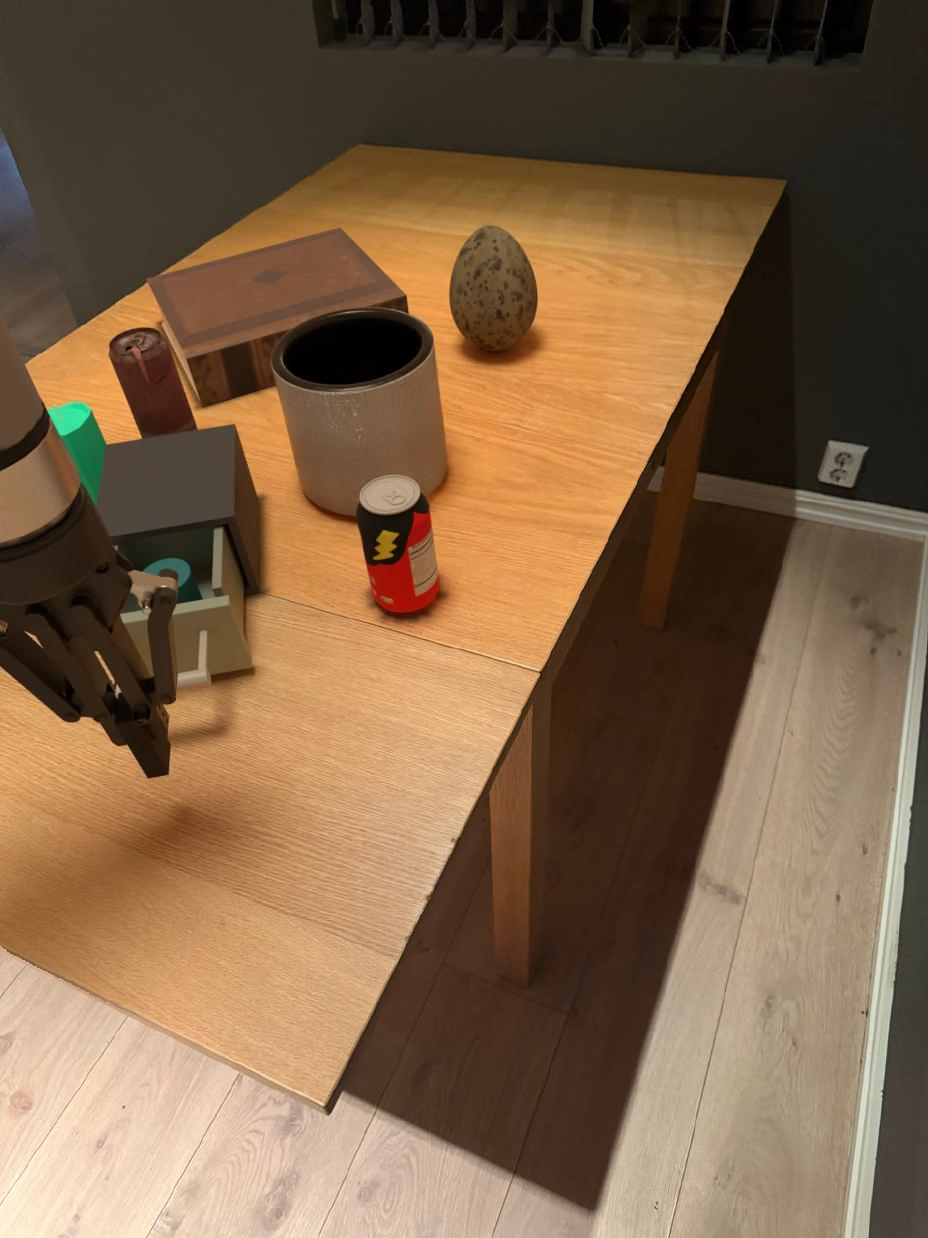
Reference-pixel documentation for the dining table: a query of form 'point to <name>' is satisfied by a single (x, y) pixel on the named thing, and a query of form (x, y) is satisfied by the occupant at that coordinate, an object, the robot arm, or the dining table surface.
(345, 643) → the dining table surface
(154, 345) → the can
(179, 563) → the teal cylinder
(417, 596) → the beverage can
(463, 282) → the decorative egg
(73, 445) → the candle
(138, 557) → the drawer
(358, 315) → the planter
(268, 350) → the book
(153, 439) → the cabinet
